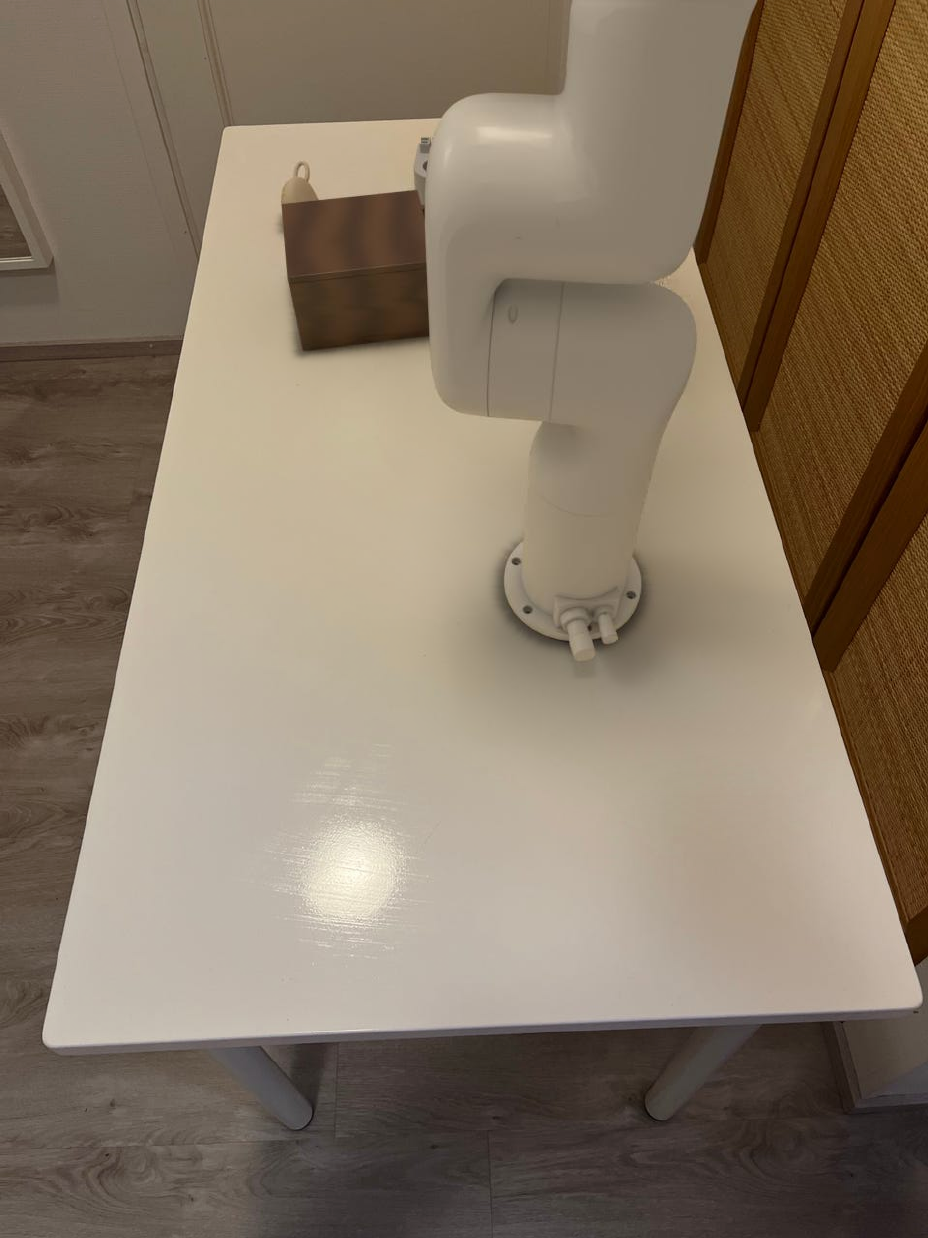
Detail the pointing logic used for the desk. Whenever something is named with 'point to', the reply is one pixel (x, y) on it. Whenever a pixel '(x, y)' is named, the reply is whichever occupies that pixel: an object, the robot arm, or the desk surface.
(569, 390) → the robot arm
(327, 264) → the cabinet
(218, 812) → the desk surface
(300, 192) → the decorative ornament
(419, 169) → the grey mounting bracket
